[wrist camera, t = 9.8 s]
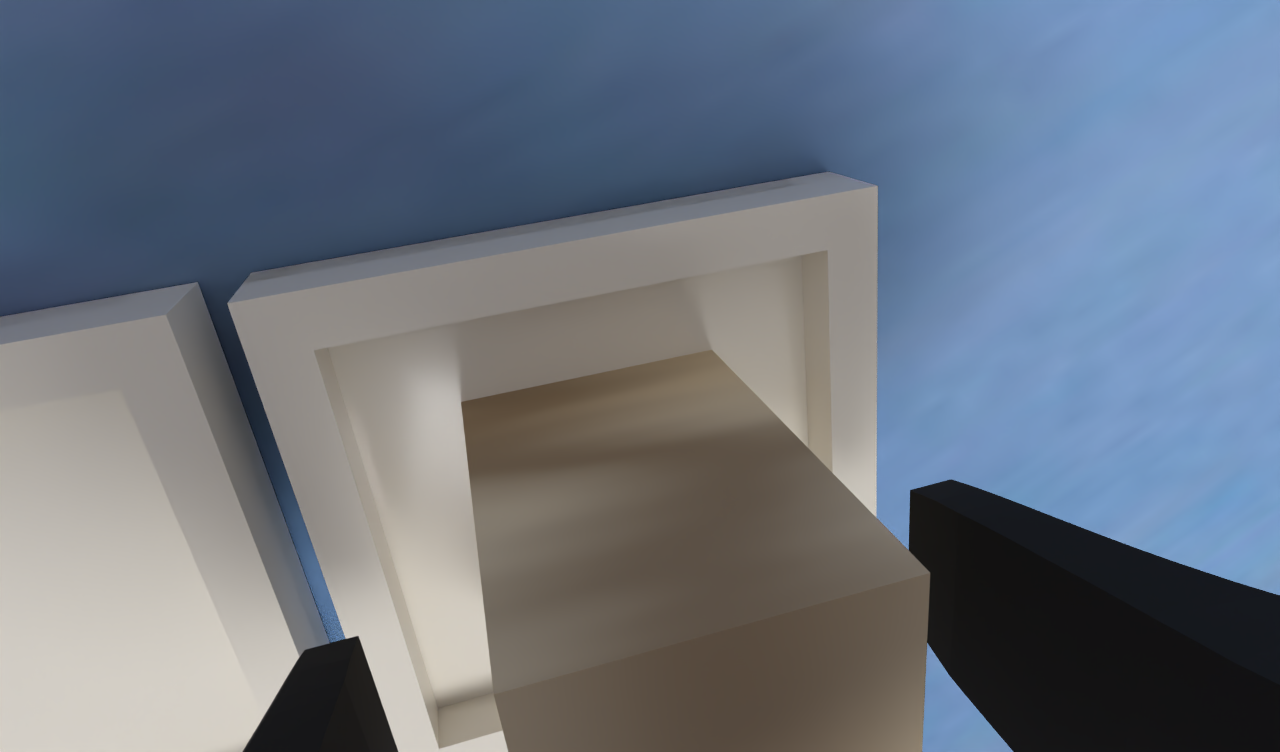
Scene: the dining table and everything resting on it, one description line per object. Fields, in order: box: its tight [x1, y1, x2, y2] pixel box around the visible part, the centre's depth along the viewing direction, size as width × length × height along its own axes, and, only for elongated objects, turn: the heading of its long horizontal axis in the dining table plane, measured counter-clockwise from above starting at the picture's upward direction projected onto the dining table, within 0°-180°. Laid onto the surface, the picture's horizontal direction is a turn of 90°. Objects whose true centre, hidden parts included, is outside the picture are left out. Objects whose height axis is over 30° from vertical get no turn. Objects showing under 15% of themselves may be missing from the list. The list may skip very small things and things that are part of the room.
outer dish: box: [227, 172, 878, 752], centre depth 13 cm, size 9×9×2 cm
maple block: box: [461, 350, 930, 752], centre depth 10 cm, size 4×4×6 cm
